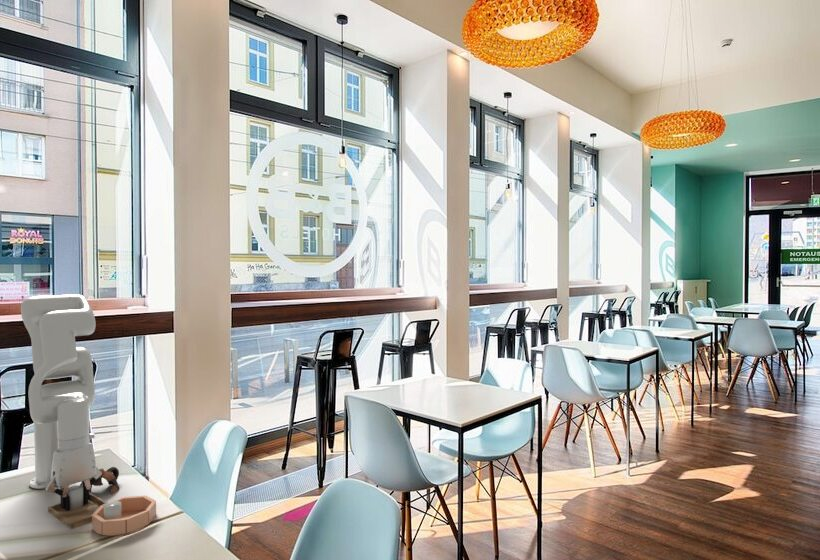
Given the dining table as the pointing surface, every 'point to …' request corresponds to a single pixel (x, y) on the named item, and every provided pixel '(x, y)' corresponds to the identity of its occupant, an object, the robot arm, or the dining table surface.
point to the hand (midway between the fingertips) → (75, 505)
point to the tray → (77, 512)
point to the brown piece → (108, 479)
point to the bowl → (126, 516)
